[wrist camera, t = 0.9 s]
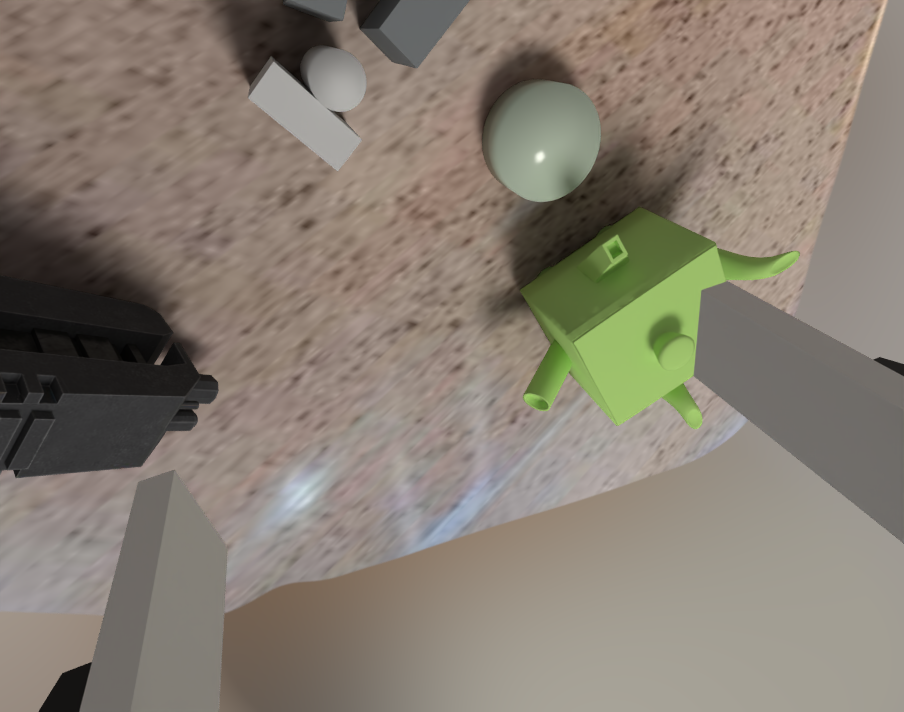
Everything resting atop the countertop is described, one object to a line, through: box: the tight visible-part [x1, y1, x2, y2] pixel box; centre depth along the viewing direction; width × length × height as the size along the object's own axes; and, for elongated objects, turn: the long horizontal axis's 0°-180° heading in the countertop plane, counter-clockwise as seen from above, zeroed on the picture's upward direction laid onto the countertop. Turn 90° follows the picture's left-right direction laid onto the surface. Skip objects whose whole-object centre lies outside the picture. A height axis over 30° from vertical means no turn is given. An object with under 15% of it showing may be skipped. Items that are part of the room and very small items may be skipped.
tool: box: [0, 275, 218, 478], centre depth 28 cm, size 6×19×15 cm, turn 51°
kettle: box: [520, 207, 800, 429], centre depth 39 cm, size 15×14×11 cm
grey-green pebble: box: [482, 79, 601, 202], centre depth 35 cm, size 7×7×3 cm
